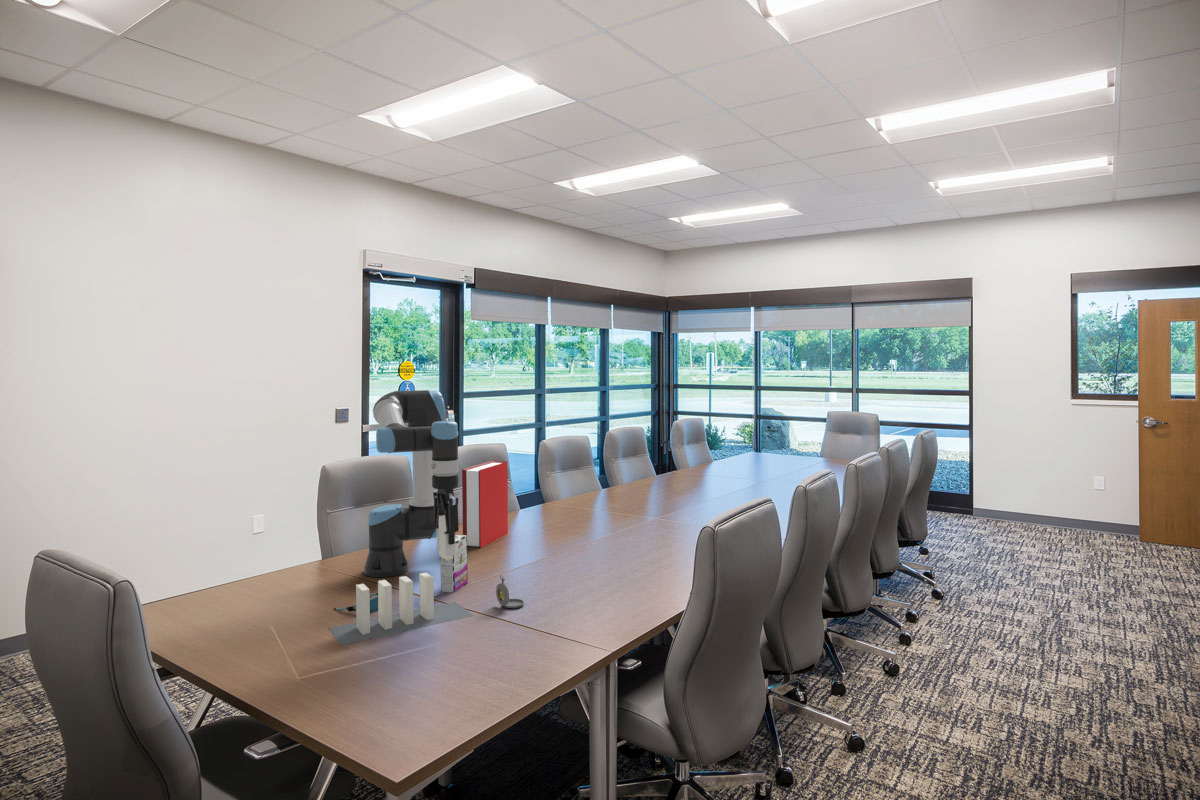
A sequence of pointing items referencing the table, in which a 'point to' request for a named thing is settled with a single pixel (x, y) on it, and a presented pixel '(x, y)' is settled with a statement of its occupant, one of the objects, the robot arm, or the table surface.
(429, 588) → the domino
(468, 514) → the book
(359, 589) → the domino
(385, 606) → the domino
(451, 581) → the candy bar box
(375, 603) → the sunglasses
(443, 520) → the domino
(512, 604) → the pocket watch
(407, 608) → the domino
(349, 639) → the mat
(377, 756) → the table surface
